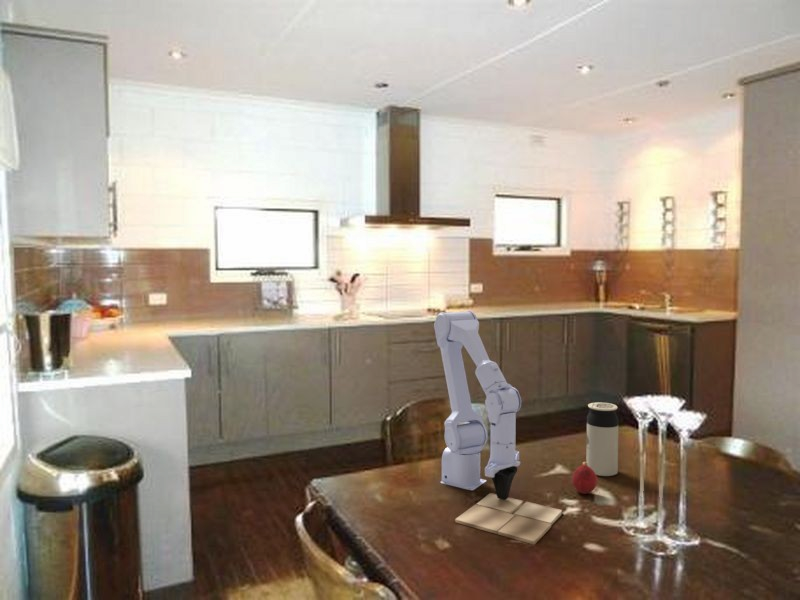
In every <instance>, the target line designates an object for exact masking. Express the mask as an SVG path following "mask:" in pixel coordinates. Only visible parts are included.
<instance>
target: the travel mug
mask: <svg viewBox="0 0 800 600" xmlns="http://www.w3.org/2000/svg"><path fill="white" fill-rule="evenodd" d="M587 406H588V409H589V412H588V413H587V416H586V450H585V451H586V452H585V453H586V461H585V462H586V463H587V465H588V467H590V468H591V469H592V470H593V471H594V472H595V474H596V476H597V477H613V476H615V475H617V474H618V473H619V472H618V467H619V466H618V465H619V462H618V461H619V417H618V415H617V411H618V410H617V409H618V406H617V405H616V404H613V403H611V402H610V403H609V402H601V401H600V402H599V401H598V402H591V403H588V404H587Z"/></svg>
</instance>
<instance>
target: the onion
mask: <svg viewBox="0 0 800 600" xmlns="http://www.w3.org/2000/svg"><path fill="white" fill-rule="evenodd" d="M571 480H572V484H573V488H575V489H576V490H577V491H578V492H579V493H581V494H583V495H587V494H590V493H591V492H592V491H593V490H595V488H596V487H597V486H598V475H596V474H595V472H594V471H593V470H592V469H591V468H590V467H588V465H587V463H586V461H583V462H582V465H580V466H578V467H576V469H574V471H573V473H572V478H571Z"/></svg>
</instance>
